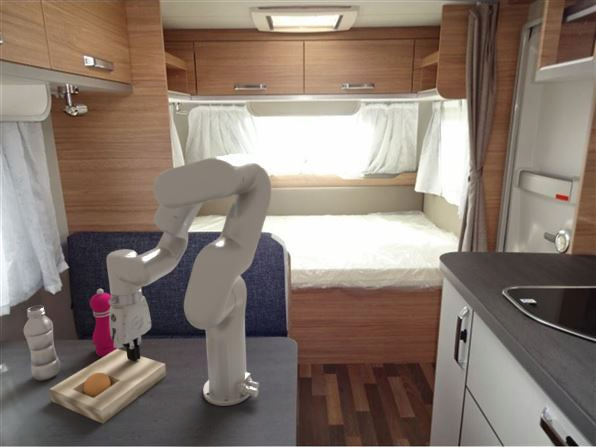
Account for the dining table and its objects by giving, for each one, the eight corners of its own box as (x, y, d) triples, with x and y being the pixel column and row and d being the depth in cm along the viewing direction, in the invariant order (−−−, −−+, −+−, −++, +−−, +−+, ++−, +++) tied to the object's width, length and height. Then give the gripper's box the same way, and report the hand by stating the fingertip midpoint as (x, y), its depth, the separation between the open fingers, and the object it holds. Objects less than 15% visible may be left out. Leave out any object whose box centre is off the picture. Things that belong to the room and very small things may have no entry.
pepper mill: (110, 358, 116) (102, 294, 111) (88, 355, 117) (79, 292, 113) (125, 345, 123) (118, 285, 118) (105, 343, 124) (97, 283, 119)
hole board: (166, 375, 108) (165, 363, 107) (102, 423, 90) (101, 410, 89) (118, 359, 115) (117, 348, 114) (51, 401, 98) (49, 388, 97)
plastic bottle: (66, 372, 109) (56, 305, 105) (42, 386, 103) (30, 316, 99) (51, 366, 112) (40, 301, 107) (27, 380, 106) (14, 311, 101)
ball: (108, 365, 103) (87, 368, 97) (119, 383, 100) (98, 387, 95) (95, 383, 103) (74, 387, 98) (106, 401, 101) (85, 406, 95)
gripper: (113, 310, 96) (121, 377, 100) (158, 288, 109) (164, 348, 114) (92, 305, 99) (101, 370, 104) (138, 284, 112) (144, 342, 117)
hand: (134, 358), depth 109 cm, fingers closed
